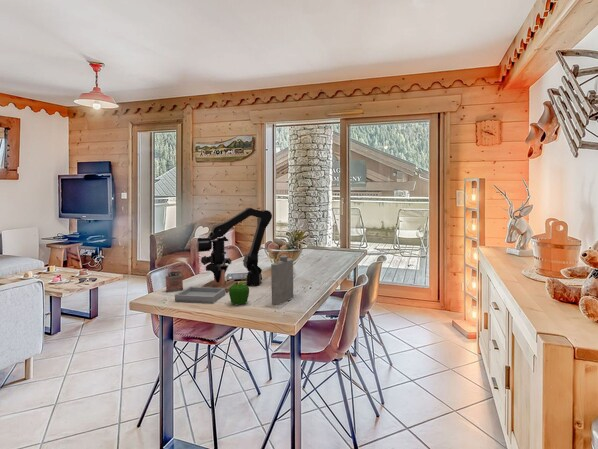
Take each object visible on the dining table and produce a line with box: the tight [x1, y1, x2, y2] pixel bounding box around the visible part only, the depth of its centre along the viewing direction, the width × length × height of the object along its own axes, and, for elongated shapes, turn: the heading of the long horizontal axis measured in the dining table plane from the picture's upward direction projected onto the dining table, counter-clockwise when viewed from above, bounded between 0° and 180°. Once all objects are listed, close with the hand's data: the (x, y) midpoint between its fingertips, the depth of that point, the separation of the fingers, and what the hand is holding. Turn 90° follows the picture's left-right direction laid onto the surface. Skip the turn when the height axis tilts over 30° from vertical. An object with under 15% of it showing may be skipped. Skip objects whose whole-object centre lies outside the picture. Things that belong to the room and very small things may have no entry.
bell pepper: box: [228, 281, 250, 306], centre depth 156 cm, size 8×8×10 cm
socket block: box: [201, 279, 239, 294], centre depth 181 cm, size 14×14×2 cm
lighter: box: [165, 269, 184, 293], centre depth 176 cm, size 8×3×10 cm, turn 118°
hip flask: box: [270, 254, 294, 306], centre depth 160 cm, size 16×4×20 cm, turn 152°
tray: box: [174, 286, 226, 305], centre depth 165 cm, size 18×14×3 cm
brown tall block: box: [213, 270, 226, 286], centre depth 181 cm, size 4×4×9 cm
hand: (219, 281), depth 181 cm, fingers closed on brown tall block, 4 cm apart
